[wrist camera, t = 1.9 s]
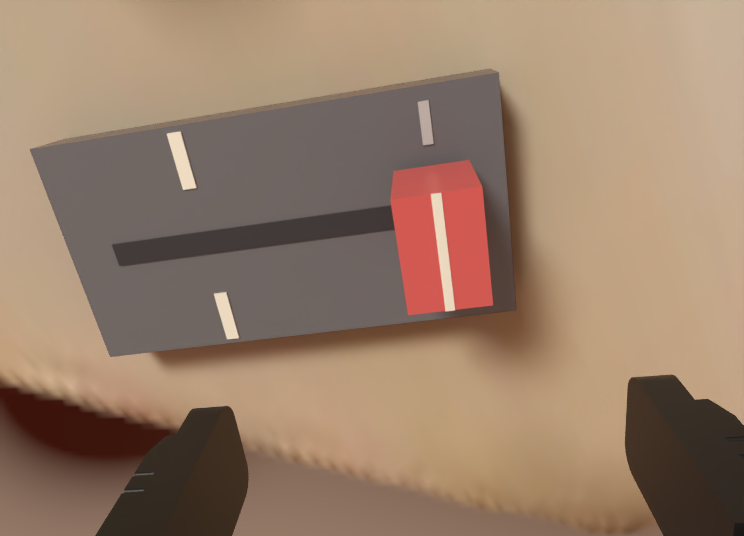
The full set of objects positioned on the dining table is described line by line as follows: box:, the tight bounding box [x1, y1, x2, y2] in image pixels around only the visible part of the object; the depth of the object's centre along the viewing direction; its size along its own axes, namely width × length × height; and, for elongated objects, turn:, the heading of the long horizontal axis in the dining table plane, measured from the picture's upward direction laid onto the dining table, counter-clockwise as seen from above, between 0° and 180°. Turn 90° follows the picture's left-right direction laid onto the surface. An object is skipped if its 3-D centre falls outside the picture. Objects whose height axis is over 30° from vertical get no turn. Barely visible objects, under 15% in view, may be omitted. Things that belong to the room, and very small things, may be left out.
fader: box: [390, 160, 493, 315], centre depth 25 cm, size 4×5×6 cm
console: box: [30, 69, 516, 357], centre depth 30 cm, size 23×12×3 cm, turn 99°
